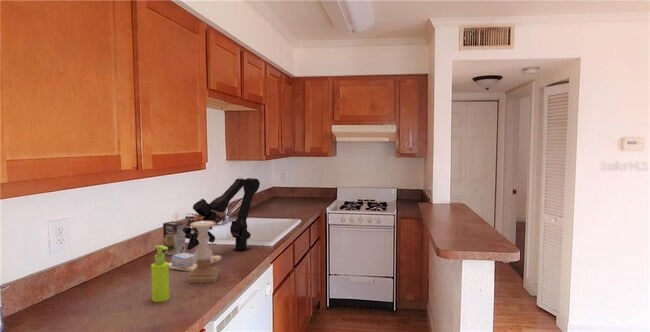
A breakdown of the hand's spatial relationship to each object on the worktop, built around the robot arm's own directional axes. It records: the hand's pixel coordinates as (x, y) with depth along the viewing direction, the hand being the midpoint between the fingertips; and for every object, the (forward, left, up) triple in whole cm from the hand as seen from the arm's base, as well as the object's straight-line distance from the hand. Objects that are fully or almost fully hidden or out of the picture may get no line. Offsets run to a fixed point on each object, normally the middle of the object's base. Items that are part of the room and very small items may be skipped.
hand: (188, 249), depth 178 cm
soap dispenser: (+34, +16, -8) cm, 39 cm away
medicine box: (-2, +1, -4) cm, 4 cm away
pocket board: (-4, 0, -8) cm, 9 cm away
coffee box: (-13, -20, -8) cm, 25 cm away
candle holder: (+11, +17, -8) cm, 22 cm away
